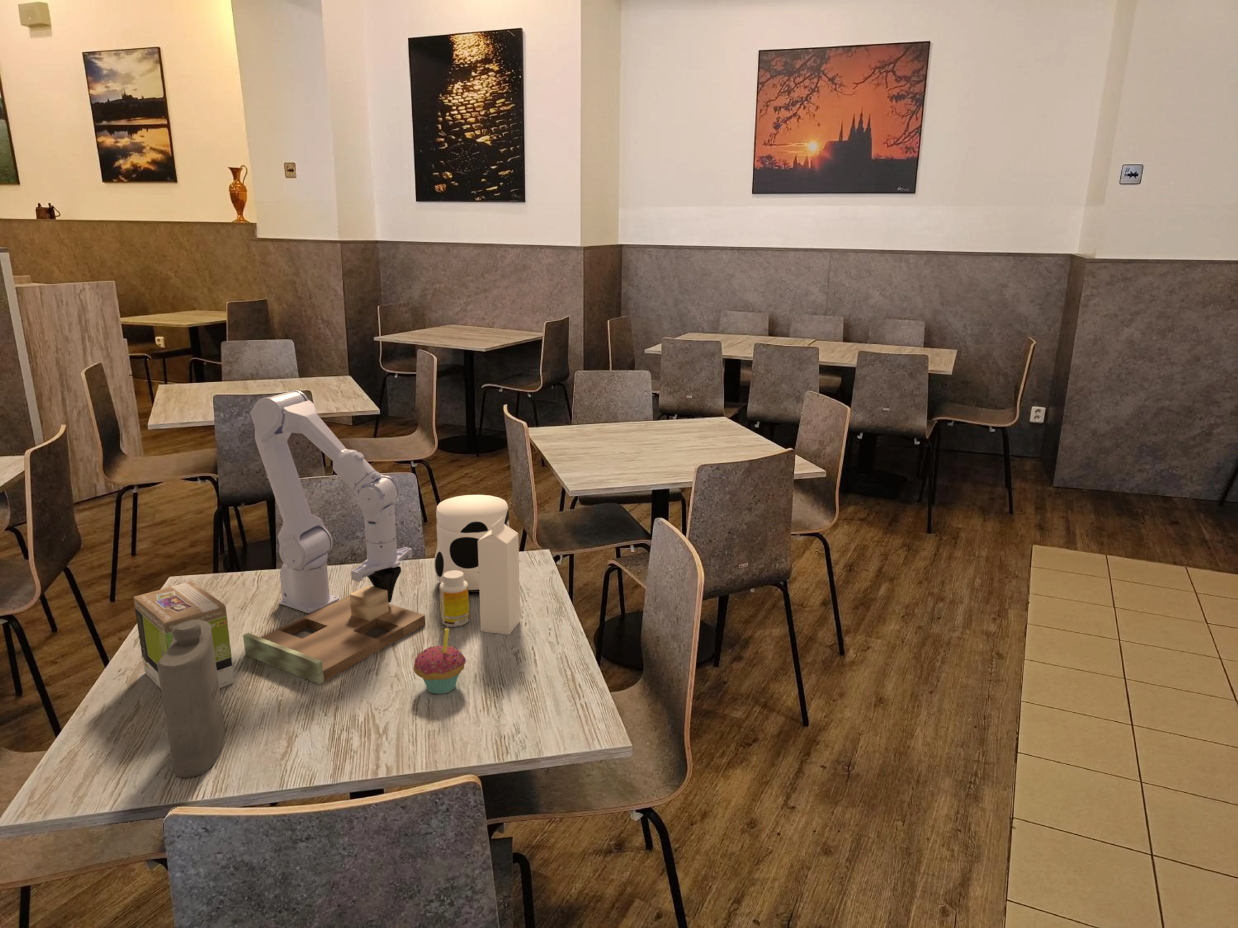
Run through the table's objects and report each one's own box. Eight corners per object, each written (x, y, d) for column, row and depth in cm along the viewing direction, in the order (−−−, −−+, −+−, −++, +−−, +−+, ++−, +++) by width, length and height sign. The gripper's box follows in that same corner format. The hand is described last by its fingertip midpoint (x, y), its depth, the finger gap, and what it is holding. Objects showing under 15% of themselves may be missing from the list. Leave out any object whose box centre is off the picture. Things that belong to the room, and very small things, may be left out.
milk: (480, 631, 157) (475, 525, 151) (492, 617, 163) (488, 514, 157) (510, 635, 156) (506, 527, 150) (521, 621, 162) (517, 517, 156)
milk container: (450, 564, 189) (447, 491, 184) (522, 569, 187) (521, 495, 182) (423, 595, 173) (418, 516, 168) (502, 601, 170) (499, 520, 166)
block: (351, 615, 159) (349, 594, 158) (370, 605, 163) (368, 584, 162) (369, 621, 157) (368, 599, 155) (388, 611, 161) (387, 590, 160)
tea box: (237, 683, 138) (227, 603, 134) (174, 706, 131) (161, 623, 127) (203, 652, 148) (192, 578, 144) (142, 673, 141) (129, 595, 137)
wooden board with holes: (245, 654, 148) (243, 634, 146) (355, 601, 169) (353, 584, 168) (319, 684, 138) (317, 663, 137) (425, 624, 160) (424, 605, 159)
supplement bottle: (474, 622, 161) (473, 575, 158) (449, 630, 158) (447, 582, 155) (461, 612, 165) (459, 566, 162) (436, 620, 162) (433, 573, 159)
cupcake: (475, 679, 140) (472, 616, 137) (449, 704, 133) (446, 638, 129) (432, 670, 143) (428, 608, 140) (404, 694, 135) (400, 629, 132)
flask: (216, 773, 115) (198, 647, 110) (170, 781, 113) (150, 653, 108) (230, 716, 129) (215, 601, 123) (189, 722, 127) (172, 606, 122)
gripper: (367, 554, 152) (372, 620, 155) (421, 531, 164) (425, 592, 167) (341, 547, 155) (346, 611, 159) (396, 524, 167) (400, 585, 171)
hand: (385, 601), depth 163 cm, fingers closed
